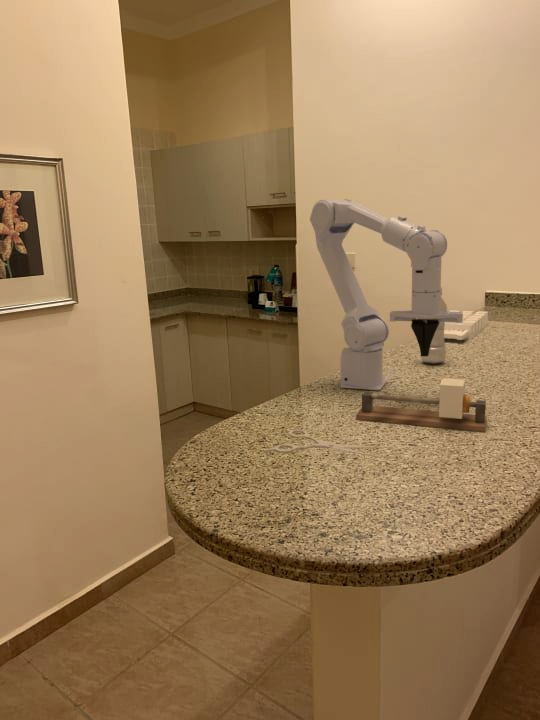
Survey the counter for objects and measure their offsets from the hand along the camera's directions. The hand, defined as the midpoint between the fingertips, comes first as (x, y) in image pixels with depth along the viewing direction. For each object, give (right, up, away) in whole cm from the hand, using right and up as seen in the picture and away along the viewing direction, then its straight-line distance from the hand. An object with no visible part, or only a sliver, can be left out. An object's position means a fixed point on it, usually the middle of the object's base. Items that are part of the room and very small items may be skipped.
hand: (424, 355), depth 114 cm
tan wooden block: (+1, -11, -13) cm, 17 cm away
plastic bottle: (+11, -2, +30) cm, 32 cm away
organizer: (+30, +8, +66) cm, 73 cm away
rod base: (-4, -13, -10) cm, 17 cm away
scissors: (-23, -17, -20) cm, 35 cm away
